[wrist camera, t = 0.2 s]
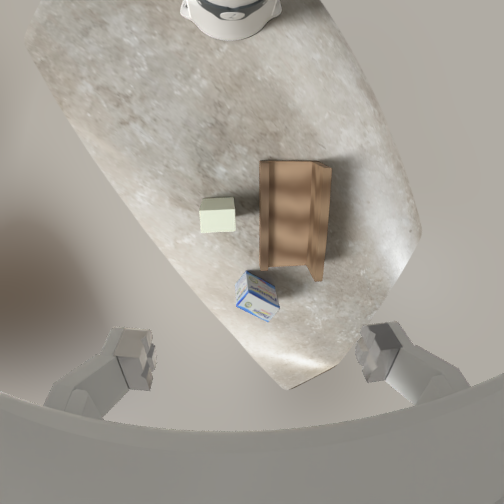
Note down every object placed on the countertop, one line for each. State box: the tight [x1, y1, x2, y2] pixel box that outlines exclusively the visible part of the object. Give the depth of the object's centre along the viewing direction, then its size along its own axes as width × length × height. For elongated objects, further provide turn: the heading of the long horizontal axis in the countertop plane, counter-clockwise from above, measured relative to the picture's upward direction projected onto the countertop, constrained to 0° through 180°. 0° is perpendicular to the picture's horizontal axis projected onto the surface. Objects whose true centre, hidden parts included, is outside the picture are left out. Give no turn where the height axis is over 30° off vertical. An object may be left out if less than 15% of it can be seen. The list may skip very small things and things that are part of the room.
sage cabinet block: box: [199, 197, 236, 233], centre depth 54 cm, size 4×6×8 cm, turn 91°
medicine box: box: [235, 271, 280, 322], centre depth 62 cm, size 8×4×9 cm, turn 56°
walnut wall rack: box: [259, 161, 332, 282], centre depth 56 cm, size 22×12×8 cm, turn 1°
